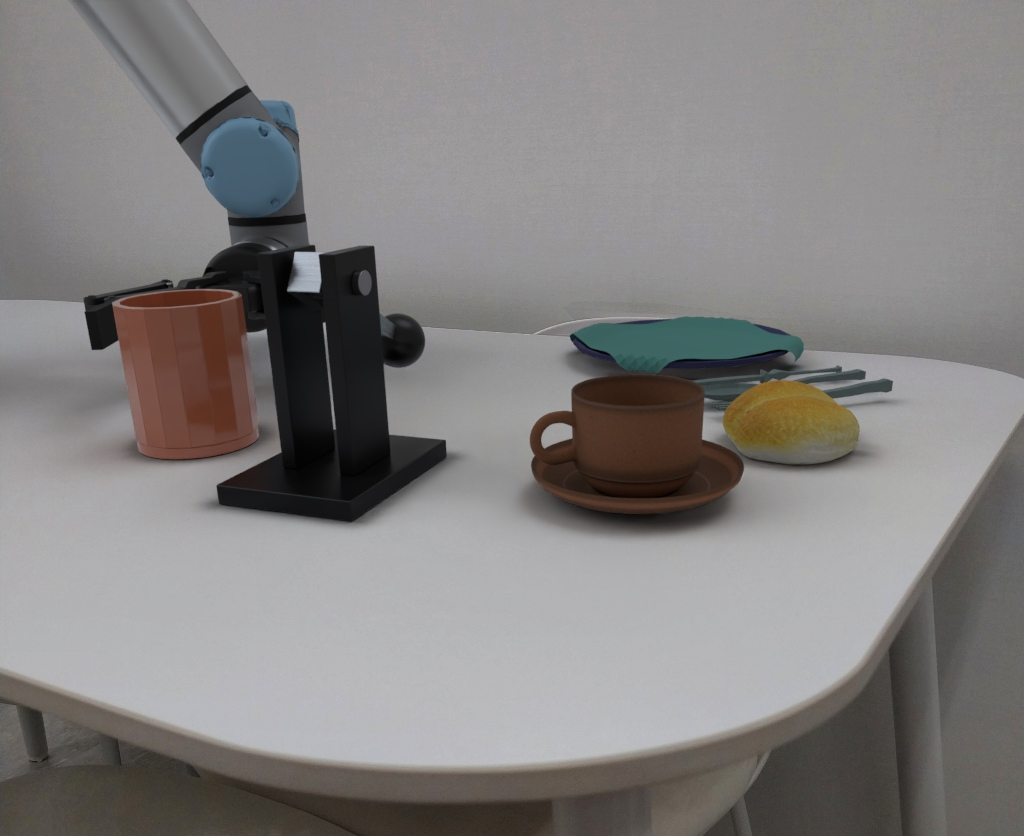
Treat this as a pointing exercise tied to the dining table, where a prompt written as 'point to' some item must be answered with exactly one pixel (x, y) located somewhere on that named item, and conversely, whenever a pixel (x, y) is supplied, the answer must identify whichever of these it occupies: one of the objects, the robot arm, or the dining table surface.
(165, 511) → the dining table surface
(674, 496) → the cup and saucer
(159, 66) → the robot arm
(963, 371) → the dining table surface
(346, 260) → the black stand
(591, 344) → the cutlery set
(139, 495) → the dining table surface
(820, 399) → the bread roll
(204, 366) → the cup
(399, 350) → the lever
